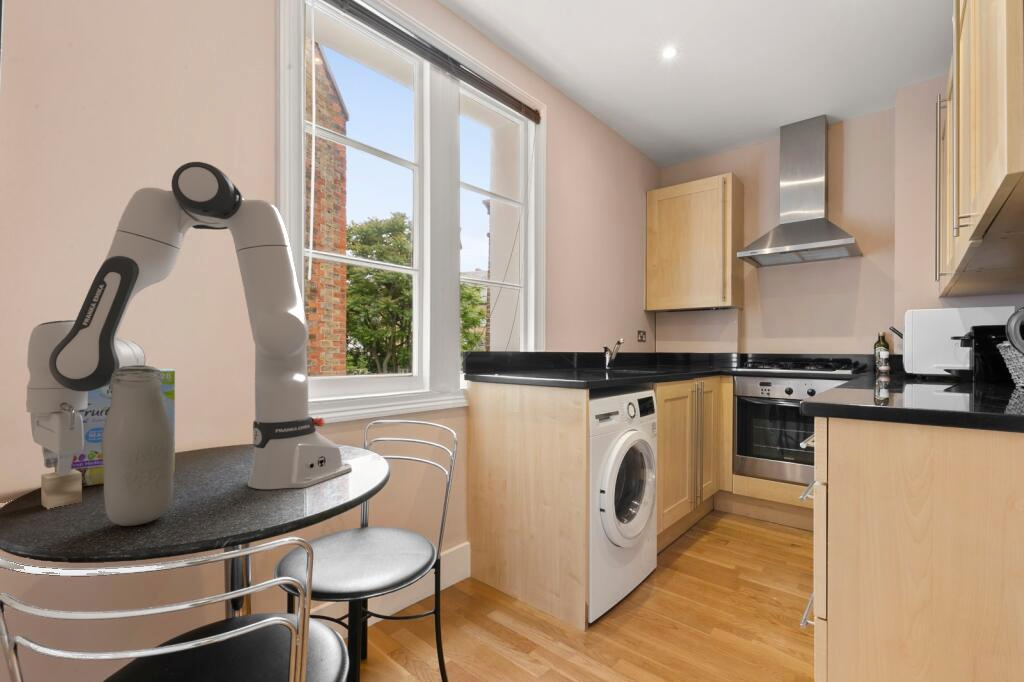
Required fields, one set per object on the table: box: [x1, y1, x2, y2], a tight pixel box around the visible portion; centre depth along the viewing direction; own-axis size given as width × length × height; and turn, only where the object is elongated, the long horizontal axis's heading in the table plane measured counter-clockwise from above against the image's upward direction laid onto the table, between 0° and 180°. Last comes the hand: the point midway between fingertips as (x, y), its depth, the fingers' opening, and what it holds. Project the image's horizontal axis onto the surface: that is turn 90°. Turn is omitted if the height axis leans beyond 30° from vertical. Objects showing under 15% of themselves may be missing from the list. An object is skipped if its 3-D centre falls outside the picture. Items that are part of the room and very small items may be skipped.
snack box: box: [54, 368, 176, 487], centre depth 112 cm, size 22×9×26 cm, turn 129°
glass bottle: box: [101, 365, 174, 527], centre depth 84 cm, size 10×10×28 cm
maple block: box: [40, 469, 83, 510], centre depth 95 cm, size 5×5×6 cm
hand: (57, 470), depth 95 cm, fingers open, 8 cm apart
